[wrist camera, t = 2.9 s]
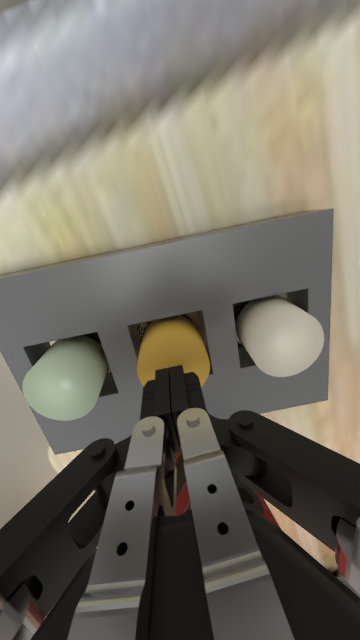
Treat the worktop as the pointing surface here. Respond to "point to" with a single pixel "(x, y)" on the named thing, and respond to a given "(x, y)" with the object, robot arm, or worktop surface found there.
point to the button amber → (172, 349)
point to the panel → (170, 300)
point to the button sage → (67, 379)
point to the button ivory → (279, 336)
